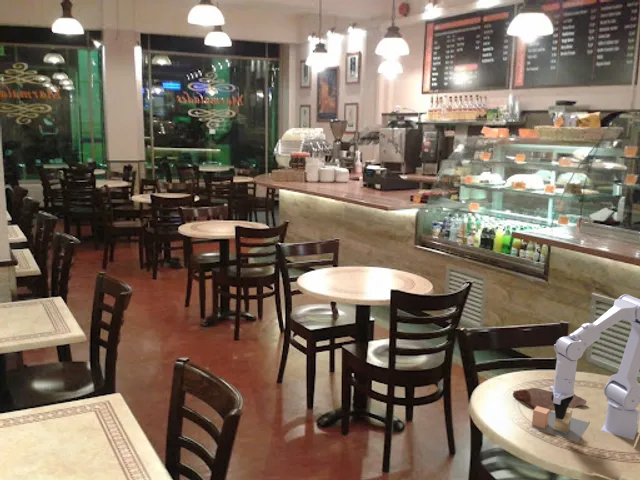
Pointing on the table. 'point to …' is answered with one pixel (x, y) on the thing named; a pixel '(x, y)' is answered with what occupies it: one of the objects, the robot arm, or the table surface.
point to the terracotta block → (540, 417)
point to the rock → (542, 398)
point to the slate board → (573, 434)
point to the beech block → (563, 422)
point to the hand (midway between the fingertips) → (559, 417)
